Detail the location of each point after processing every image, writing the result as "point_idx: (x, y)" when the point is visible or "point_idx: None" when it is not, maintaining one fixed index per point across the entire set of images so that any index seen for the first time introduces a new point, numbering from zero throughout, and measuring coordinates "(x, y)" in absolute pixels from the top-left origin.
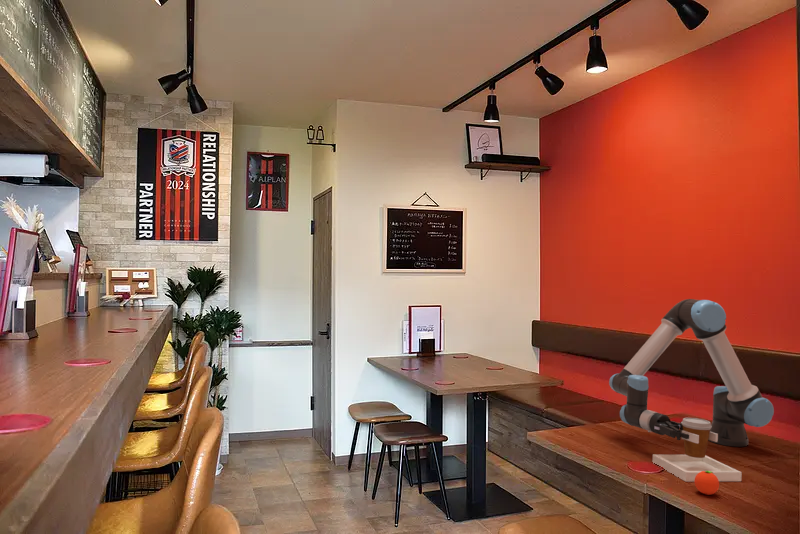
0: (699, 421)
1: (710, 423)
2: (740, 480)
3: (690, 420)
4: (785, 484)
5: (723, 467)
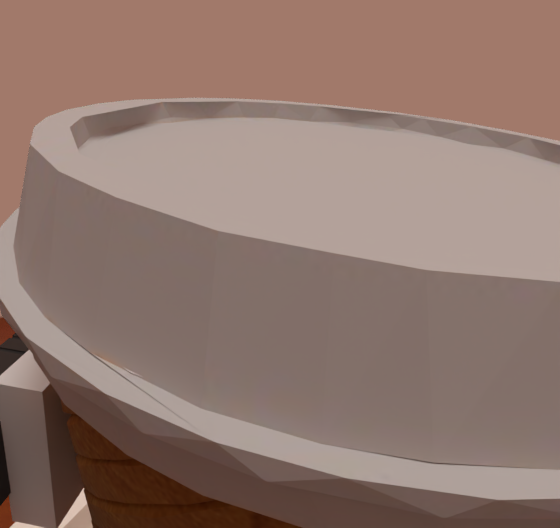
0: (278, 156)
1: (242, 112)
2: None
3: (451, 218)
4: (13, 330)
5: (83, 521)
